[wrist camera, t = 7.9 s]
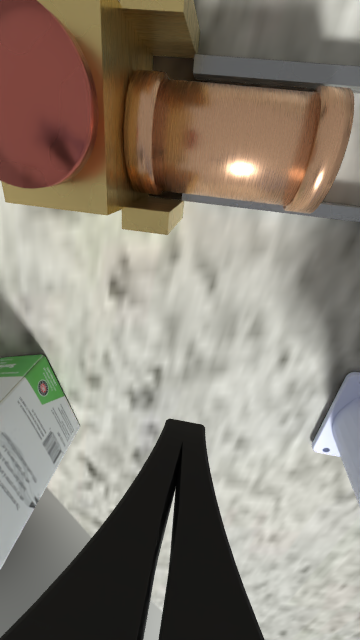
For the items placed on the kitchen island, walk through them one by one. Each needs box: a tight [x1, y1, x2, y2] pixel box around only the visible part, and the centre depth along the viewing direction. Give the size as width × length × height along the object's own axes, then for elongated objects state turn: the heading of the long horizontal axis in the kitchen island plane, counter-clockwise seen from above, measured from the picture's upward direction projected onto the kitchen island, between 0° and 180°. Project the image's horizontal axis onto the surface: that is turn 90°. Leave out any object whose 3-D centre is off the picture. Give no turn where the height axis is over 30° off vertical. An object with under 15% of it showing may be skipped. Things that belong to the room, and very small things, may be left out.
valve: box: [0, 0, 200, 235], centre depth 11 cm, size 9×8×8 cm
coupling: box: [123, 70, 354, 214], centre depth 12 cm, size 8×4×4 cm, turn 85°
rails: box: [182, 54, 360, 222], centre depth 13 cm, size 11×6×1 cm, turn 85°
